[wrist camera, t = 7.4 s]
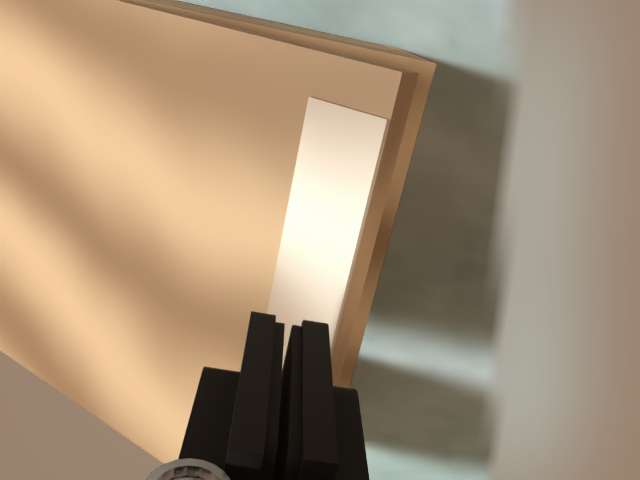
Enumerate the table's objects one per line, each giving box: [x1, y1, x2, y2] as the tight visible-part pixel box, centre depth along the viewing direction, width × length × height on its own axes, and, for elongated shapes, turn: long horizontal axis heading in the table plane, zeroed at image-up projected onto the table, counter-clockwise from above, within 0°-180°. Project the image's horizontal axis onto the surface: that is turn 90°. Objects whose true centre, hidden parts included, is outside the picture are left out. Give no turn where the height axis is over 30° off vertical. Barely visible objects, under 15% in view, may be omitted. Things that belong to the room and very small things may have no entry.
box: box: [127, 0, 436, 388], centre depth 25 cm, size 14×14×8 cm
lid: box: [0, 0, 419, 464], centre depth 18 cm, size 14×14×1 cm
